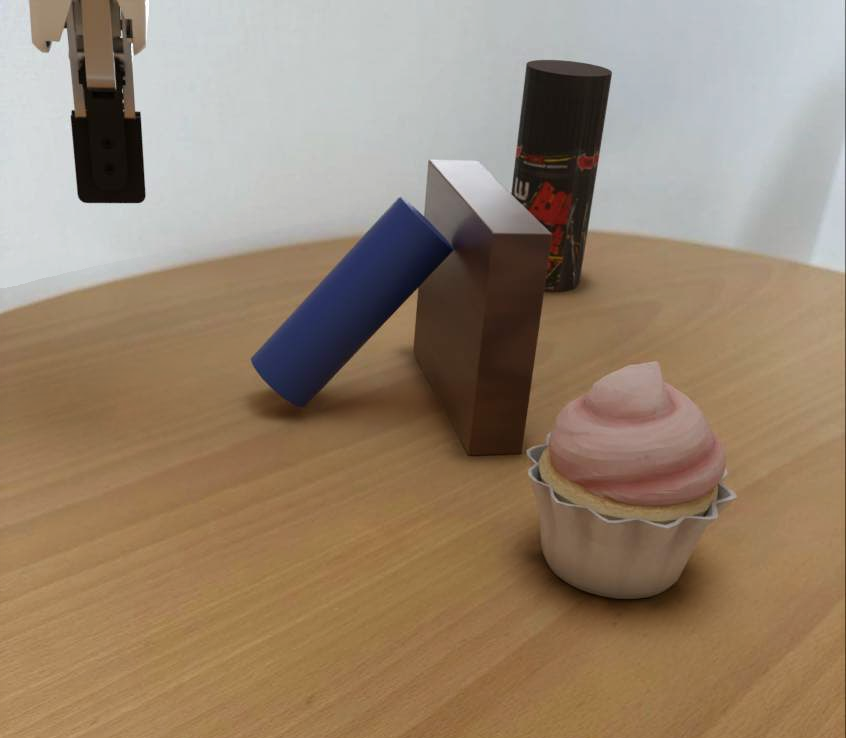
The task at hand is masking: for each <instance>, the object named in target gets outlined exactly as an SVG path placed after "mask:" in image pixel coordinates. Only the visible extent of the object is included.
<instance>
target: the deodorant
mask: <svg viewBox="0 0 846 738" xmlns="http://www.w3.org/2000/svg"><path fill="white" fill-rule="evenodd" d="M612 75H613V72H612V70H611V69H609V68H607V67H603V66H601V65H597V64H591V63H587V62H586V63H585V62H580V61H572V60H560V59H536V60H530V61H528V62H526V65H525V73H524V81H523V82H524V83H523V91H522V98H521V108H520V116H519V124H518V133H517V141H516V151H515V158H514V165H513V166H514V167H513V174H512V175H513V176H512V185H511V192H510V193H511V194H512V195H513V196H514V197H515V198H516V199H517V200H518V201H519V202H520V203H521V204H522V205H523V206H524V207H525V208H526V209H527V210H528V211H529V212H530V213H531V214H532V215H533V216H534V217H535V218H536V219H537V220H538V221H539V222H540V223H541V224H542V225H543V226H544V227H545V228H546V229H547V230H548V231H549V232H550V233H551V234H552V240H551V247H550V254H549V261H548V268H547V276H546V283H545V290H544V292H545V293H546V292H549V293H550V292H551V293H553V292H554V293H558V292H559V293H560V292H567V291H571V290H574V289H576V288H577V287H579V285H580V282H581V276H582V270H583V263H584V257H585V250H586V243H587V237H588V230H589V224H590V219H591V213H592V207H593V206H592V205H593V199H594V192H595V185H596V178H597V174H598V173H597V172H598V167H599V161H600V154H601V148H602V141H603V134H604V127H605V122H606V115H607V108H608V101H609V96H610V89H611V83H612Z"/></svg>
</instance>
